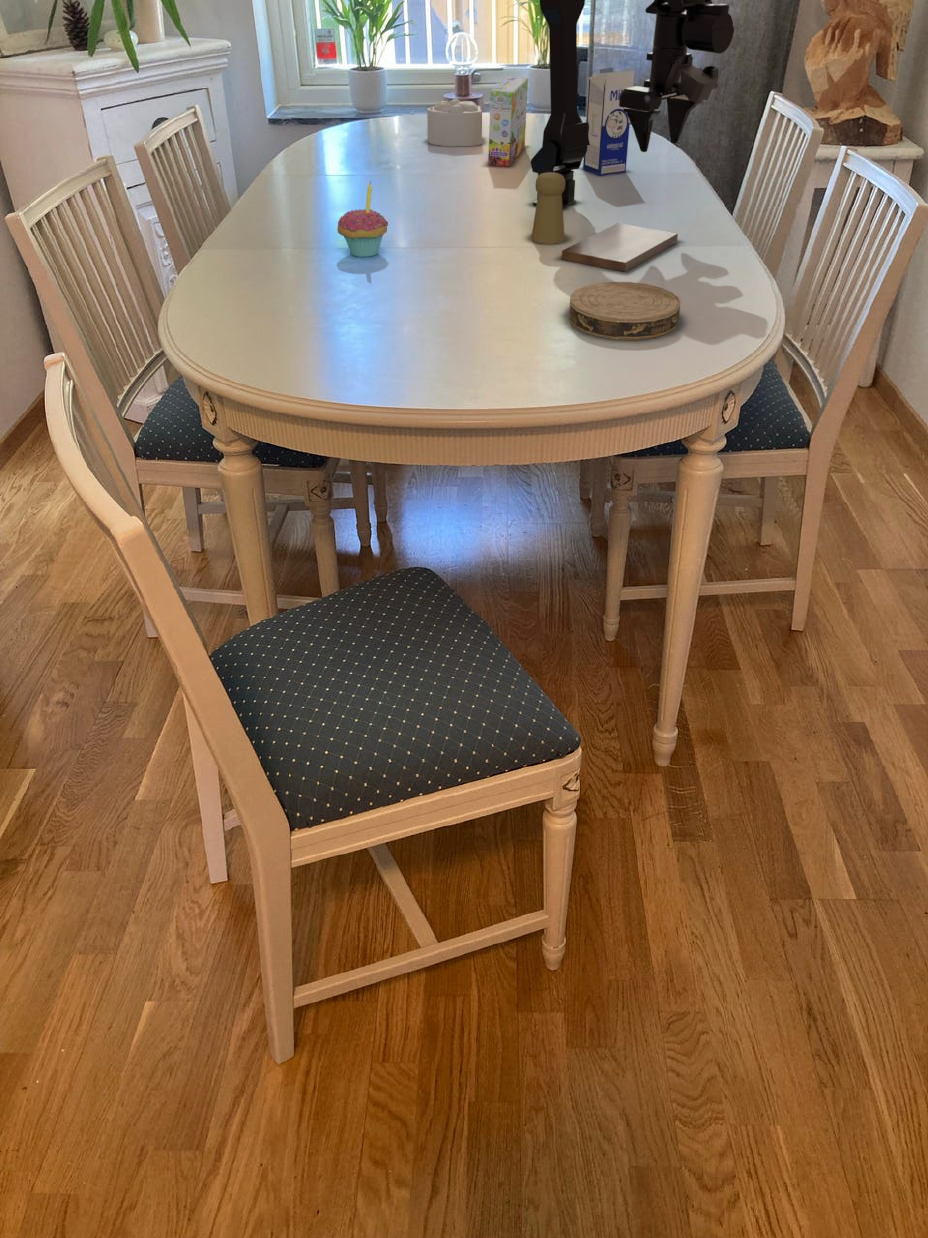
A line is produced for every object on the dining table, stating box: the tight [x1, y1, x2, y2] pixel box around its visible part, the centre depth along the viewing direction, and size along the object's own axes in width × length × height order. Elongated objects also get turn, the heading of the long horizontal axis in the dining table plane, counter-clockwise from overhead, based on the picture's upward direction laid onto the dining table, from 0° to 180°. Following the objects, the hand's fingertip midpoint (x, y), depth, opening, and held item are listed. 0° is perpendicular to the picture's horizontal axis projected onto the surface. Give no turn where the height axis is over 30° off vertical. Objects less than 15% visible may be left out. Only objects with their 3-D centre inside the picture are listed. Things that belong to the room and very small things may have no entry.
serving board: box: [561, 222, 679, 273], centre depth 179 cm, size 12×20×2 cm, turn 146°
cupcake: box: [336, 180, 389, 258], centre depth 175 cm, size 9×8×12 cm
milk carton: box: [582, 67, 635, 176], centre depth 221 cm, size 7×7×20 cm
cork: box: [530, 172, 566, 245], centre depth 182 cm, size 6×6×11 cm
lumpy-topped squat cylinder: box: [426, 98, 483, 147], centre depth 248 cm, size 10×13×9 cm
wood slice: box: [568, 281, 681, 341], centre depth 151 cm, size 16×16×3 cm
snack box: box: [487, 76, 529, 167], centre depth 234 cm, size 21×6×15 cm, turn 168°
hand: (659, 147), depth 182 cm, fingers open, 9 cm apart
